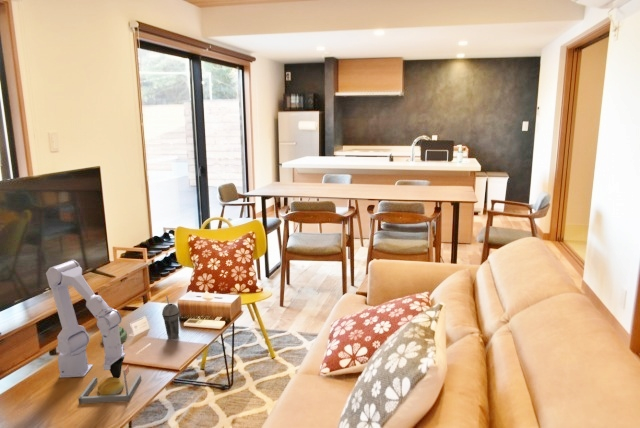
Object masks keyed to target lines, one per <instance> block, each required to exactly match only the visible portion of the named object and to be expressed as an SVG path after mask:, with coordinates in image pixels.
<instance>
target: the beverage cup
mask: <svg viewBox="0 0 640 428" xmlns="http://www.w3.org/2000/svg"><path fill="white" fill-rule="evenodd" d="M165 296H166V297H165V299H166V302H167V304H166V305H164V307H163V309H162V313H161V315H162V317H163V321H164V326H165V331H166V336H167V338H168V340H171V341H173V340H177V339H179V337H180V336H179V334H180V333H179V332H180V326H179V324H180V323H179V320H180V310H179V307H178V306H177V305H176V304H174V303H170V302H169V298H168V295H165Z"/></svg>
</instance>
